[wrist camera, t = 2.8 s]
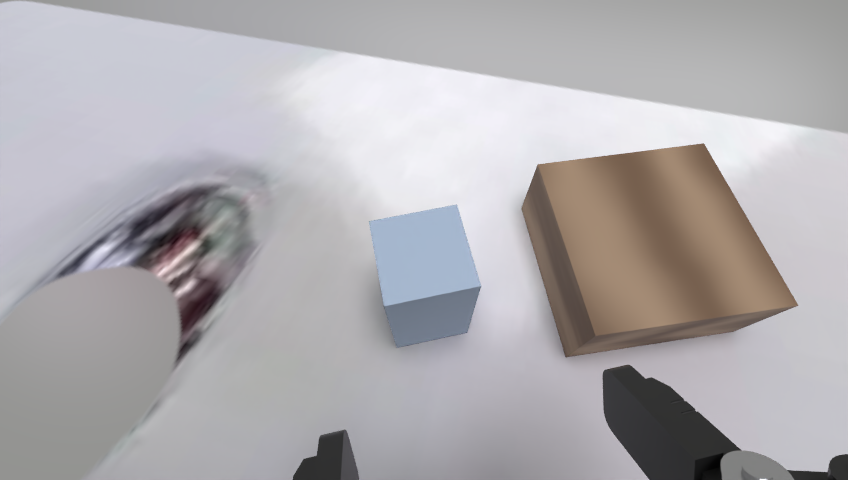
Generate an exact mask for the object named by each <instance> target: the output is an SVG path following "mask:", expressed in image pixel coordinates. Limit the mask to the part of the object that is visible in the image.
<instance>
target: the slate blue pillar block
mask: <svg viewBox="0 0 848 480" xmlns="http://www.w3.org/2000/svg"><path fill="white" fill-rule="evenodd" d="M369 224H370V230H371V236H372V241H373V247H374V253H375V258H376V264H377V270H378V275H379V281H380V286H381V292H382V298H383V303H384V308H385V311H386V314H387V318H388V321H389V324H390V327H391V330H392V334H393V337H394V340H395V343H396V346H397V348H398V347H403V346H408V345H412V344H417V343H421V342H426V341H430V340H435V339H440V338H444V337H449V336H453V335H458V334H463V333H467V331H468V328H469V324H470V321H471V318H472V314H473V311H474V308H475V305H476V301H477V298H478V295H479V291H480V288H481V284H480V281H479V277H478V274H477V271H476V267H475V264H474V261H473V257H472V254H471V251H470V247H469V244H468V240H467V237H466V234H465V230H464V227H463V224H462V220H461V217H460V213H459V210H458V207H457V205H452V206H447V207H442V208H436V209H431V210H426V211H421V212H415V213H410V214H405V215H400V216H394V217H389V218H384V219H379V220H373V221H369Z"/></svg>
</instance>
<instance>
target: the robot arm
mask: <svg viewBox="0 0 848 480" xmlns="http://www.w3.org/2000/svg"><path fill="white" fill-rule="evenodd" d="M603 403H604V414H605V418H606V421H607V423H608V426H609V427H610V429H611V431H612V432H613V434H614V435H615V436H616V437H617V439H618V440H619V441H620V443H621V444H622V445H623V446H624V448H625V449H626V450H627V451H628V453H629V454H630V455H631V457H632V458H633V459H634V460H635V462H636V463H637V464H638V466H639V467H640V468H641V469H642V471H643V472H644V473H645V475H646V476H647V477H648V478H649V480H848V454H845V455H839V456H836V457H834V458H832V460H831V461H830V463H829V468H828V472H811V471H791V470H786V469H785V468H784V467H783V466H781V465H780V464H779V463H777V462H776V461H774V460H772V459H770V458H768V457H766V456H764V455H761V454H758V453H755V452H750V451H742V450H740V449H739V448H738V447H737V446H736V445H735V444H734V443H733V442H731V441H730V440H729V439H728V438H727V437H726V436H725V435H724V434H722V433H721V432H720V431H719V430H718V429H717V428H716V427H715V426H713V425H712V424H711V423H710V422H709V421H708V420H707V419H706V418H704V417H703V416H702V415H701V414H700V413H699V412H696V411H695V409H694V408H693V407H692V406H691V405H690V404H689V403H688V402H686V401H684V399H683V398H682V397H681V396H680V395H679V394H678V393H676V392H675V391H674V390H673V389H672V388H671V387H670V386H668V385H666V384H664V383H662V382H660V381H658V380H656V379H654V378H647V379H645V378H644V377H643V376H642V375H641V374H640V373H638V372H637V371H636V370H635V369H634V368H633V367H632V366H630V365H624V366H620V367H616V368H611V369H607V370H604V372H603ZM293 480H359V476H358V470H357V466H356V463H355V459H354V455H353V452H352V448H351V444H350V441H349V437H348V434H347V431H346V430H342V431H337V432H333V433H329V434H325V435H321V436H320V438H319V444H318V451H317V456H314V457H310V458H306V459H304V460H303V461H302V463H301V465H300V466H299V468H298V469H297V471H296V473H295V474H294V476H293Z"/></svg>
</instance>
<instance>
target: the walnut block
mask: <svg viewBox="0 0 848 480" xmlns="http://www.w3.org/2000/svg"><path fill="white" fill-rule="evenodd" d="M522 212H523V215H524V218H525V222H526V225H527V229H528V232H529V235H530V239H531V242H532V245H533V249H534V252H535V255H536V259H537V262H538V266H539V269H540V272H541V276H542V279H543V282H544V286H545V289H546V293H547V296H548V299H549V303H550V306H551V309H552V313H553V316H554V319H555V323H556V326H557V330H558V333H559V336H560V340H561V343H562V346H563V350H564V353H565V357H570V356H577V355H583V354H590V353H596V352H603V351H609V350H616V349H623V348H629V347H636V346H642V345H649V344H655V343H662V342H668V341H675V340H681V339H688V338H695V337H701V336H708V335H714V334H721V333H727V332H734V331H736V330H739V329H741V328H743V327H746V326H748V325H751V324H753V323H756V322H758V321H761V320H763V319H766V318H768V317H771V316H773V315H776V314H778V313H781V312H783V311H786V310H788V309H791V308H793V307H796V306H798V304H797V302H796V301H795V299H794V297H793V296H792V294H791V292H790V290H789V289H788V287H787V285H786V284H785V282H784V280H783V278H782V277H781V275H780V273H779V272H778V270H777V268H776V266H775V265H774V263H773V261H772V260H771V258H770V256H769V254H768V253H767V251H766V249H765V248H764V246H763V244H762V242H761V241H760V239H759V237H758V236H757V234H756V232H755V230H754V229H753V227H752V225H751V224H750V222H749V220H748V218H747V217H746V215H745V213H744V211H743V210H742V208H741V206H740V205H739V203H738V201H737V199H736V198H735V196H734V194H733V193H732V191H731V189H730V187H729V186H728V184H727V182H726V181H725V179H724V177H723V175H722V174H721V172H720V170H719V169H718V167H717V165H716V163H715V162H714V160H713V158H712V157H711V155H710V153H709V151H708V150H707V148H706V146H705V145H704V144H696V145H688V146H680V147H672V148H664V149H657V150H649V151H641V152H633V153H625V154H617V155H609V156H601V157H593V158H585V159H577V160H570V161H562V162H554V163H546V164H538V165H537V168H536V171H535V173H534V176H533V179H532V181H531V184H530V187H529V190H528V192H527V195H526V198H525V200H524V203H523V206H522Z"/></svg>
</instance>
